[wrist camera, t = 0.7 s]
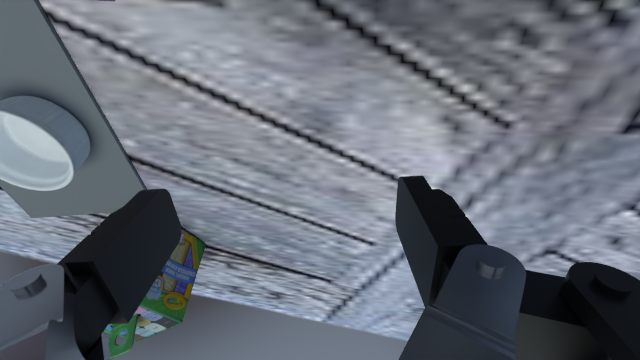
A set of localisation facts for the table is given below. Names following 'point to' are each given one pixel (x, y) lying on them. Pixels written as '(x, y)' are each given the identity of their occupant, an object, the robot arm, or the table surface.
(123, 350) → the chalk box
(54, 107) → the ramekin
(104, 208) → the label placard
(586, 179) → the table surface
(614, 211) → the table surface
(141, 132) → the table surface
